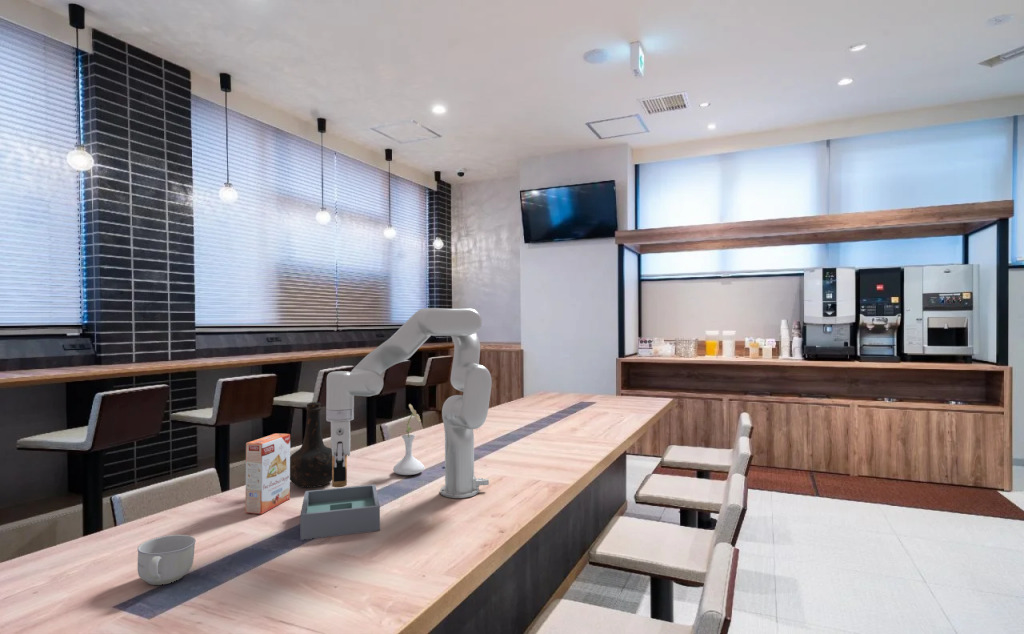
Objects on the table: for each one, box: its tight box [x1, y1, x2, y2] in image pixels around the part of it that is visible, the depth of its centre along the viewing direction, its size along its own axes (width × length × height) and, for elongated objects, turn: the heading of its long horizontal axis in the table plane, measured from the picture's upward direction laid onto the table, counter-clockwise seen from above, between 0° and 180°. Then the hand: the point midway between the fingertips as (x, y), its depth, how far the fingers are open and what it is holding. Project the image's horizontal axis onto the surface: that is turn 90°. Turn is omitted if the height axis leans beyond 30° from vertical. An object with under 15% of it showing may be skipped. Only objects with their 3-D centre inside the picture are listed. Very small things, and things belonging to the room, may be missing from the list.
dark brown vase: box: [290, 402, 332, 489], centre depth 186 cm, size 18×18×28 cm
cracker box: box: [245, 433, 291, 515], centre depth 165 cm, size 14×6×21 cm, turn 168°
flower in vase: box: [392, 403, 425, 476], centre depth 199 cm, size 13×11×25 cm
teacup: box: [137, 534, 196, 586], centre depth 118 cm, size 14×11×8 cm
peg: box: [331, 451, 348, 488], centre depth 155 cm, size 4×4×10 cm
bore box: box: [299, 484, 381, 541], centre depth 152 cm, size 20×20×6 cm
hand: (339, 477), depth 155 cm, fingers closed on peg, 4 cm apart
